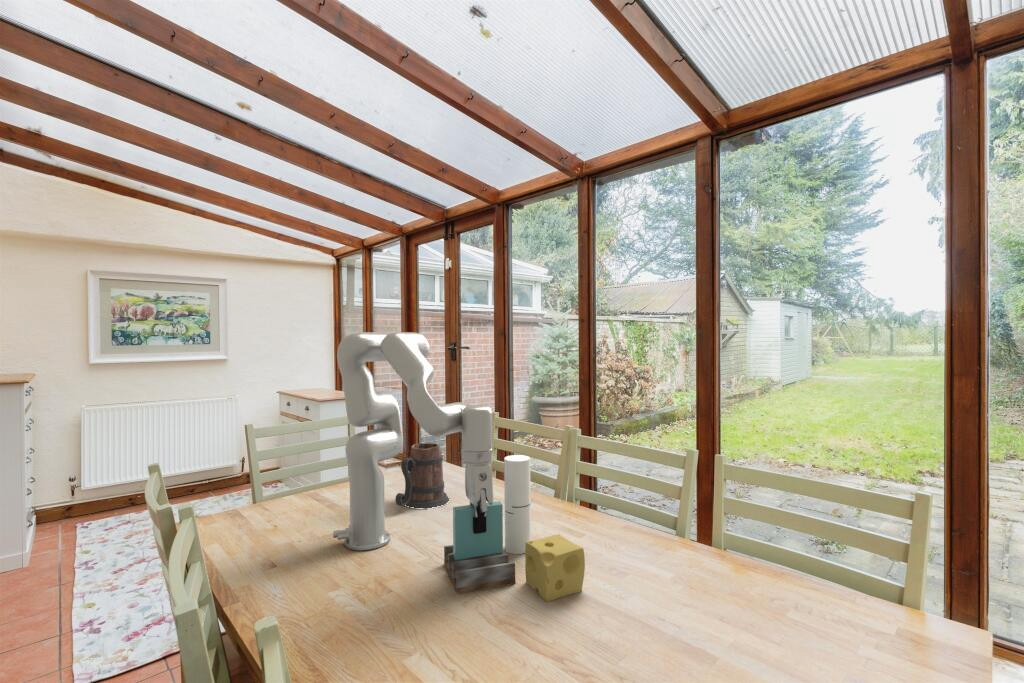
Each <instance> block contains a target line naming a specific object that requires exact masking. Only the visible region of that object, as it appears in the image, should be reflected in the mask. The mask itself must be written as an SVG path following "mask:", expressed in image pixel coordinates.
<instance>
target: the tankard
mask: <svg viewBox="0 0 1024 683" xmlns="http://www.w3.org/2000/svg"><path fill="white" fill-rule="evenodd" d="M443 460H444V457H443V454H442V450H441V445H440V444H439V443H432V442H429V443H427V442H426V443H414V444H413V445H411V448H410V454H409V457H404V458H403V459H402V460H401V463H400V464H401V465H400V469H401V472H402V475H403V477H404V481H405V482H404V484H405V486H404V487H405V488H404V493H403V492H402V493H401V492H399V493H396V495H395V499H394V501H395V503H396V505H398V506H400V507H405V505H406V506H409V507H414V508H432V507H437V506H441V505H444V504H446V503H447V502H448V501H449V499H450V497H449V496H448V495H447V493H446V492H445V490H444V489H445V481H444V471H443V470H444V468H443ZM448 497H449V498H448ZM446 505H447V504H446ZM444 506H445V505H444ZM441 507H442V506H441Z"/></svg>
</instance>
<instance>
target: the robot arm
mask: <svg viewBox="0 0 1024 683" xmlns="http://www.w3.org/2000/svg"><path fill="white" fill-rule="evenodd" d="M429 352H430V344H429V342H428V340H427V338H426V337H425V336H424V335H423V334H422V333H419V332H412V331H411V332H410V331H409V332H408V331H405V332H404V331H397V332H372V331H371V332H369V331H365V332H364V331H361V332H352V333H350V334H348V335H346V336H345V337H344V338H342V339H341V341H340V343H339V344H338V347H337V353H336V358H337V365H338V369H339V372H340V375H341V380H342V383H343V385H342V386H343V393H344V394H343V395H344V400H345V409H346V416H347V421H348V423H349V424H350V425H351V426H353V427H356V428H363V427H368V426H375V425H376V426H375V427H376V428H375V429H369V430H364V431H360V432H357V433H355V434H353V435H352V436H350V438H348V440H347V442H346V444H345V448H344V450H345V457H346V462H347V466H348V473H349V475H348V477H349V524H348V527H346V528H345V529H337V530H333V532H332V534H333V535H332V536H333V539H335V538H337V540H338V541H339V540H343V539H344V541H343V542H344V546H345V547H346V548H347V549H349V550H352V551H370V550H375V549H378V548H381V547H383V546H385V545H387V544H388V543H389V542H390V541H391V533H390V532H389V531H387V530H385V525H386V524H385V521H386V520H385V477H384V473H383V471H382V470H381V468H380V467H379V463H380V462H383V461H387V460H390V459H393V458H395V457H398V455H400V453H401V452H402V450H403V448H404V434H403V432H404V431H403V426H402V418H401V412H400V406H399V403H398V400H397V399H396V397H395V396H394V394H392V393H391V392H389V391H385V390H380V391H376V389H375V380H374V376H373V374H372V372H371V371H370V369H369V367H368V366H367V365H366V363H368V362H369V363H370V362H387V363H388V364H389V365H390V367H391V368H392V369H393V370H394V372H395V373H396V374H397V376H398V377H399V379H401V381H402V382H403V383H404V385H405V386H406V390H407V391H406V399H407V405H408V409H409V411H410V413H411V415H412V417H413V418H414V419H415V421H416V422H417V423H418V424H419V426H420V427H421V429H422V430H423V431H425V432H426V433H427V434H428V435H430V436H431V437H434V438H435V437H436V438H437V437H438V438H441V437H444V436H448V435H451V434H455V433H461V463H462V464H464V465H465V467H464V468H465V470H464V473H465V474H464V476H465V477H464V487H465V490H464V491H465V496H466V498H467V499H468V501H469V505H474V517H473V533H474V534H478V533H485V532H486V512H487V504H486V503H489V504H490V505H492V504H493V502H494V485H493V474H492V473H493V471H492V465H491V464H492V463H493V461H494V460H493V459H494V458H493V456H494V454H493V410H492V408H491V407H490V406H489V405H485V404H484V405H483V404H475V405H474V404H469V403H466V402H461V401H456V402H451V403H445V404H440V405H438V404H437V402H436V401H435V400H434V399H433V397H432V396H431V395H430V393H429V391H428V389H427V385H428V384H429V383H430V382H431V381H432V379H433V377H434V375H435V369H434V367H433V365H432V364H431V363H430V362H429V361H428V360H427V357H428V355H429V354H430V353H429ZM478 507H480V508H479V509H478V511H477V508H478Z"/></svg>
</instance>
